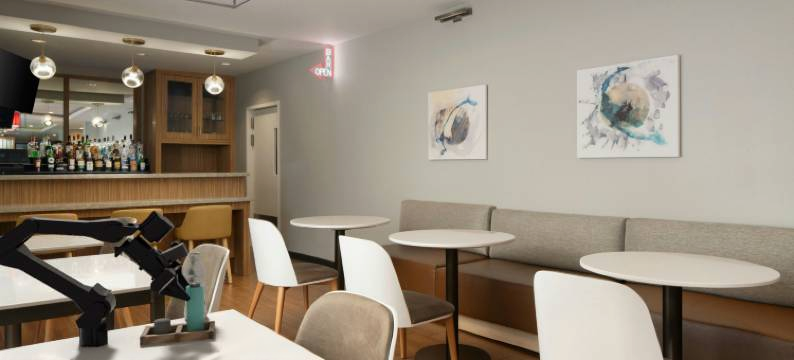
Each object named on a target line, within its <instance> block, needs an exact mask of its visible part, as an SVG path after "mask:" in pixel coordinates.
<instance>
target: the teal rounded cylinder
mask: <svg viewBox="0 0 794 360" xmlns="http://www.w3.org/2000/svg"><path fill="white" fill-rule="evenodd" d="M186 293H187V294H188V295H189V296H190V298H191V299H190V300H189V301H186V320H185V321H186V323H187V332H194V331H204V322H205V319H204V286H203V285H200V283H199V282H193V283H189V286H186Z"/></svg>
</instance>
